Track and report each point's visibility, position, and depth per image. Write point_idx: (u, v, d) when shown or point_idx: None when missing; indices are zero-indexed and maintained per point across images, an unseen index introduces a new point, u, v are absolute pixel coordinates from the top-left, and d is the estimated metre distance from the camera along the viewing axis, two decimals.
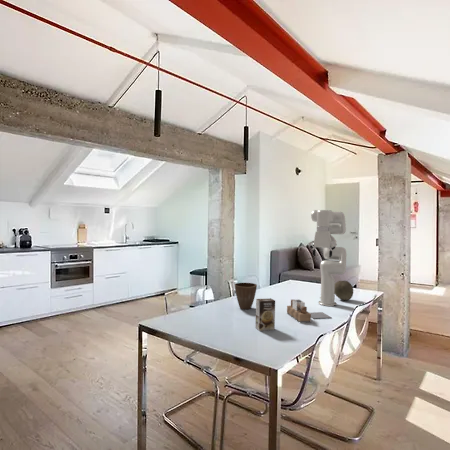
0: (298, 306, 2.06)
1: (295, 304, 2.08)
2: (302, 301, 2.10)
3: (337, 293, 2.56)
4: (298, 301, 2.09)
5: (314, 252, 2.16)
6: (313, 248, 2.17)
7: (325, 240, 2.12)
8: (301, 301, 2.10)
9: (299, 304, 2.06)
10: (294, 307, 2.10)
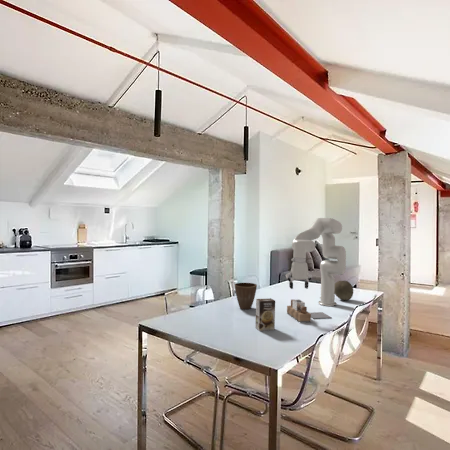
0: (298, 306, 2.06)
1: (295, 304, 2.08)
2: (302, 301, 2.10)
3: (337, 293, 2.56)
4: (298, 301, 2.09)
5: None
6: None
7: None
8: (301, 301, 2.10)
9: (299, 304, 2.06)
10: (294, 307, 2.10)
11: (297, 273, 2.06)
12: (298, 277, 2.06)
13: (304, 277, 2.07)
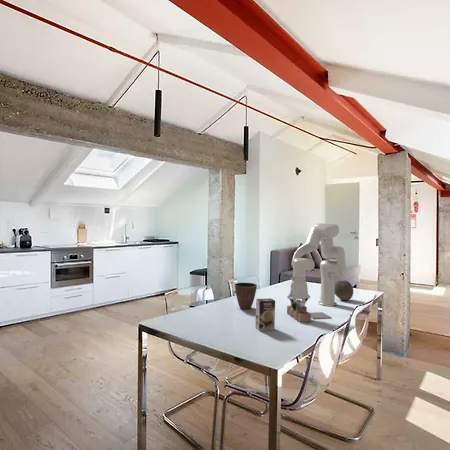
0: (298, 306, 2.06)
1: None
2: (302, 301, 2.10)
3: (337, 293, 2.56)
4: (298, 301, 2.09)
5: None
6: (303, 300, 2.11)
7: None
8: (301, 301, 2.10)
9: (299, 304, 2.06)
10: None
11: (297, 292, 2.07)
12: (298, 296, 2.07)
13: (304, 296, 2.07)
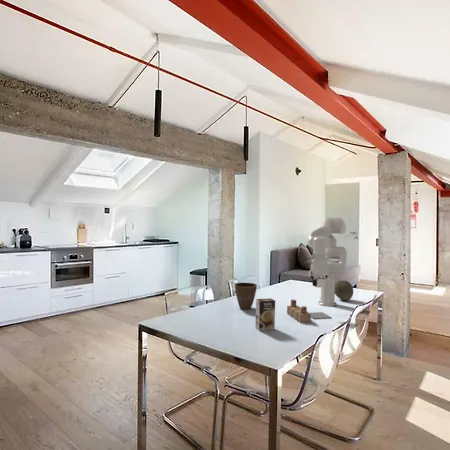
0: (319, 282, 2.10)
1: None
2: (322, 278, 2.14)
3: (337, 293, 2.56)
4: (318, 278, 2.14)
5: None
6: (323, 277, 2.16)
7: None
8: (321, 278, 2.14)
9: (319, 280, 2.10)
10: None
11: (317, 269, 2.11)
12: (318, 273, 2.11)
13: (324, 273, 2.12)
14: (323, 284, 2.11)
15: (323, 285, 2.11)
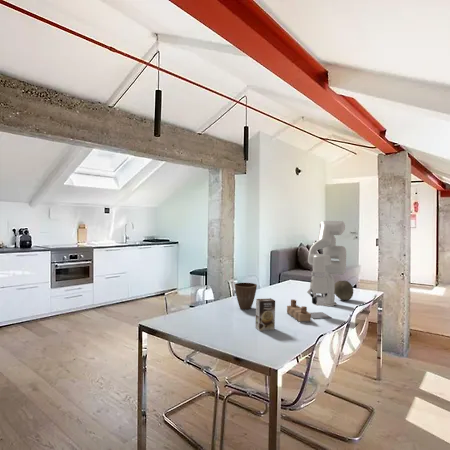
0: (318, 301, 2.10)
1: None
2: (322, 296, 2.14)
3: (337, 293, 2.56)
4: (318, 296, 2.14)
5: None
6: None
7: None
8: (321, 296, 2.14)
9: (319, 299, 2.10)
10: None
11: (317, 287, 2.11)
12: (318, 291, 2.11)
13: (323, 291, 2.12)
14: (323, 302, 2.11)
15: (323, 303, 2.11)
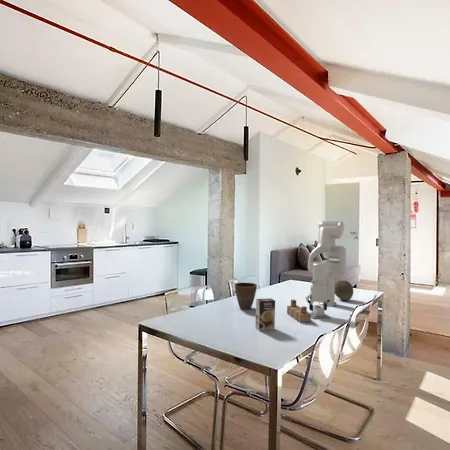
0: (318, 312, 2.11)
1: (315, 310, 2.13)
2: (322, 307, 2.15)
3: (337, 293, 2.56)
4: (318, 307, 2.14)
5: (323, 305, 2.17)
6: None
7: None
8: (321, 307, 2.15)
9: (319, 310, 2.11)
10: (314, 312, 2.14)
11: (317, 295, 2.11)
12: (318, 299, 2.11)
13: (323, 299, 2.12)
14: (322, 313, 2.11)
15: (322, 314, 2.11)
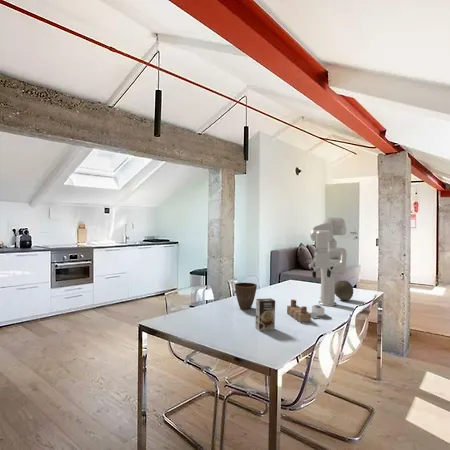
0: (318, 312, 2.11)
1: (315, 310, 2.13)
2: (322, 307, 2.15)
3: (337, 293, 2.56)
4: (318, 307, 2.14)
5: (327, 272, 2.20)
6: None
7: None
8: (321, 307, 2.15)
9: (319, 310, 2.11)
10: (314, 312, 2.14)
11: (320, 263, 2.14)
12: (321, 266, 2.15)
13: (326, 266, 2.15)
14: (322, 313, 2.11)
15: (322, 314, 2.11)
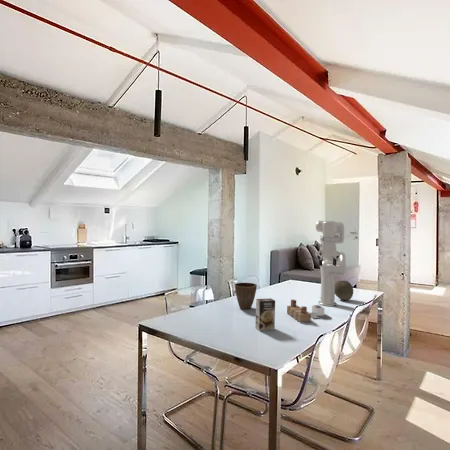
0: (318, 312, 2.11)
1: (315, 310, 2.13)
2: (322, 307, 2.15)
3: (337, 293, 2.56)
4: (318, 307, 2.14)
5: (332, 261, 2.28)
6: None
7: None
8: (321, 307, 2.15)
9: (319, 310, 2.11)
10: (314, 312, 2.14)
11: (326, 251, 2.23)
12: (327, 255, 2.23)
13: (333, 255, 2.23)
14: (322, 313, 2.11)
15: (322, 314, 2.11)
